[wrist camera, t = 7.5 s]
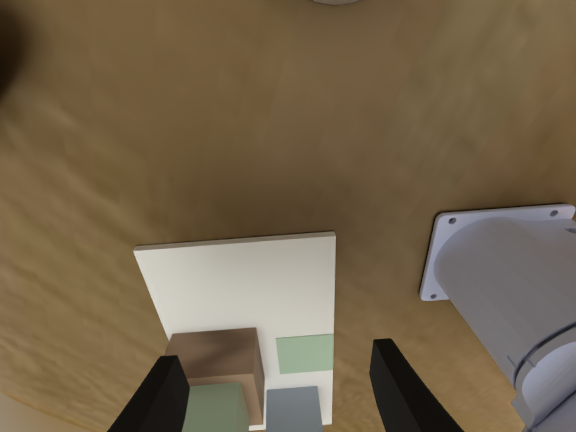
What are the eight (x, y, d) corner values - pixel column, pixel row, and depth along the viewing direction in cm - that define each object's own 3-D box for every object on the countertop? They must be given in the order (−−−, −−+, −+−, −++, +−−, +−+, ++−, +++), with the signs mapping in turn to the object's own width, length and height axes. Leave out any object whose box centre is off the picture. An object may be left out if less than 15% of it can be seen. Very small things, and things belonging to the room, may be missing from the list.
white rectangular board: (334, 231, 20) (336, 236, 20) (330, 418, 32) (331, 425, 32) (136, 246, 20) (132, 251, 20) (207, 427, 32) (205, 435, 32)
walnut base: (256, 327, 24) (252, 373, 20) (264, 377, 27) (263, 424, 24) (172, 333, 24) (154, 381, 20) (191, 383, 27) (178, 431, 24)
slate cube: (317, 385, 28) (325, 445, 24) (317, 413, 31) (325, 472, 26) (266, 389, 28) (265, 450, 24) (271, 416, 31) (270, 476, 26)
